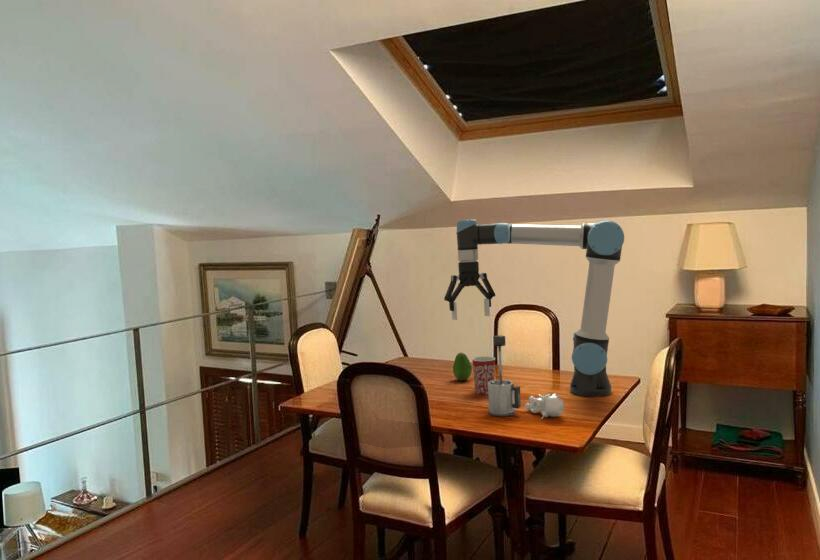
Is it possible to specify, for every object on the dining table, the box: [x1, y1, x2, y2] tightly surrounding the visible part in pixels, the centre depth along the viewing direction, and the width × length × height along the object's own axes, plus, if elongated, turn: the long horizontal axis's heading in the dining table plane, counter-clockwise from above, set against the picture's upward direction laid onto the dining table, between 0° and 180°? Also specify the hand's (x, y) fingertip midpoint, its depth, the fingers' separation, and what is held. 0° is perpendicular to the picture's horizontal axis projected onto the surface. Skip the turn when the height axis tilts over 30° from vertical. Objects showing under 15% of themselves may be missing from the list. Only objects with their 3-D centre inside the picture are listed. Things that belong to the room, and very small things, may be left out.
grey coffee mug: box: [487, 379, 522, 418], centre depth 210 cm, size 11×9×10 cm
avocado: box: [452, 352, 473, 381], centre depth 260 cm, size 8×8×12 cm
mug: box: [471, 355, 496, 396], centre depth 240 cm, size 13×9×14 cm
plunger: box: [492, 335, 509, 385], centre depth 210 cm, size 6×6×17 cm
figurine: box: [524, 392, 565, 420], centre depth 207 cm, size 11×7×15 cm
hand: (471, 317), depth 231 cm, fingers open, 13 cm apart
